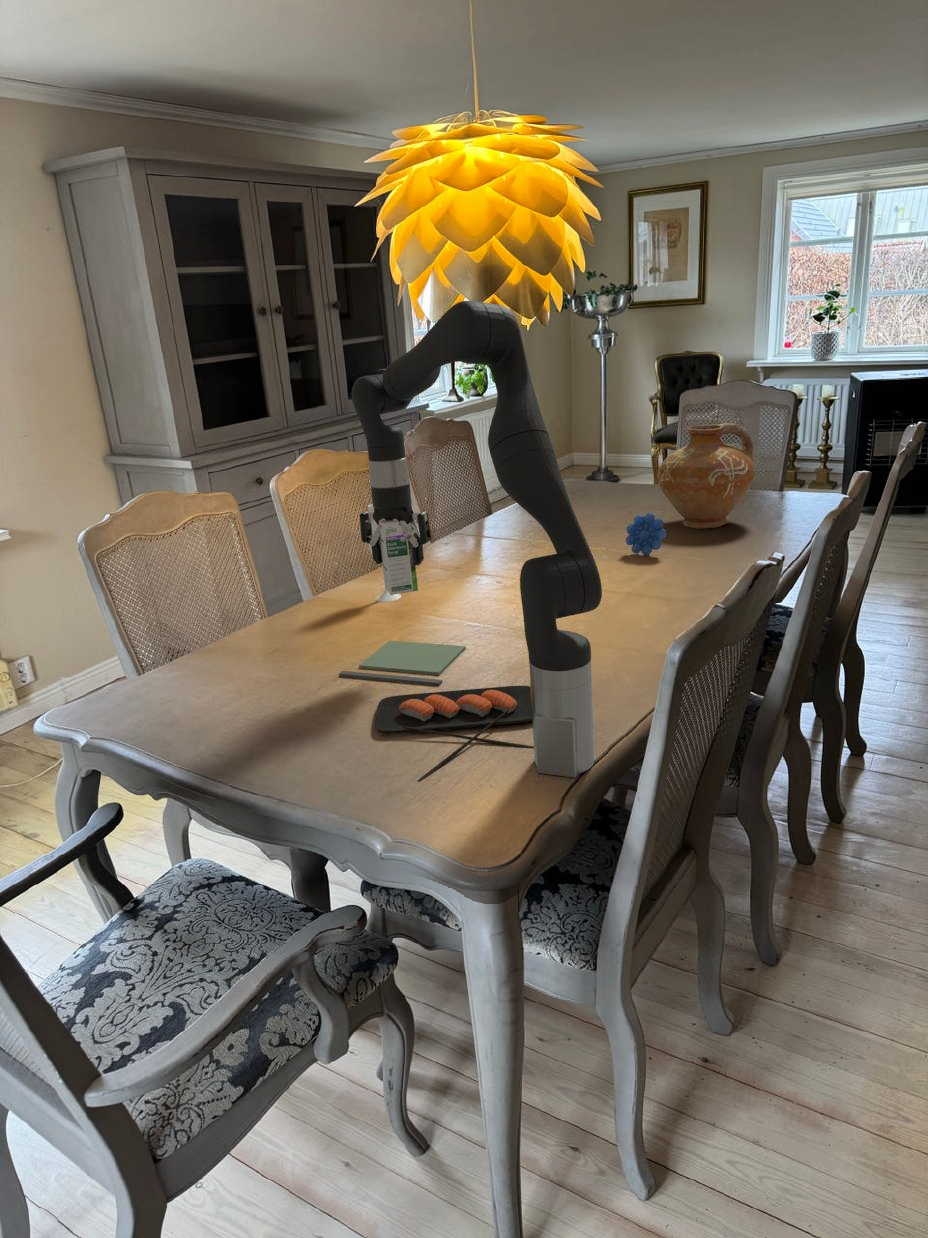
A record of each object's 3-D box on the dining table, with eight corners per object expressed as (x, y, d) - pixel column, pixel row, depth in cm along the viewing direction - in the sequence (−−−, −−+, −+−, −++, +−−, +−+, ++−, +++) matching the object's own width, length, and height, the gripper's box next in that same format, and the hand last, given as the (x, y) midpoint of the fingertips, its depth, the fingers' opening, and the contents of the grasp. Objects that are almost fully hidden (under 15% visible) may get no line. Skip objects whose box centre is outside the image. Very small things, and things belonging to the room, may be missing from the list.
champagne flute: (397, 601, 215) (386, 507, 207) (371, 601, 217) (360, 508, 208) (404, 593, 221) (394, 501, 213) (379, 593, 223) (368, 502, 215)
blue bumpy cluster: (671, 552, 237) (671, 510, 233) (662, 559, 231) (662, 515, 227) (632, 549, 243) (631, 507, 239) (622, 555, 238) (621, 513, 234)
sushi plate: (535, 693, 160) (534, 674, 158) (556, 774, 131) (555, 752, 130) (379, 706, 160) (377, 687, 158) (367, 790, 131) (364, 768, 130)
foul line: (439, 685, 164) (438, 683, 164) (339, 676, 173) (338, 673, 173) (442, 682, 166) (442, 679, 166) (342, 673, 174) (342, 670, 174)
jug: (650, 516, 277) (649, 422, 267) (739, 510, 276) (742, 415, 265) (666, 538, 251) (666, 435, 241) (765, 532, 249) (769, 427, 239)
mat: (439, 675, 169) (439, 672, 169) (359, 667, 176) (358, 665, 176) (465, 648, 181) (465, 646, 181) (389, 643, 188) (389, 640, 188)
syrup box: (390, 596, 168) (381, 523, 163) (384, 587, 174) (376, 517, 169) (418, 591, 169) (411, 519, 165) (412, 583, 175) (404, 513, 170)
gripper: (347, 486, 164) (358, 568, 169) (415, 486, 159) (423, 570, 164) (366, 478, 170) (375, 557, 176) (431, 478, 165) (439, 559, 170)
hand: (398, 563), depth 170 cm, fingers closed on syrup box, 8 cm apart
